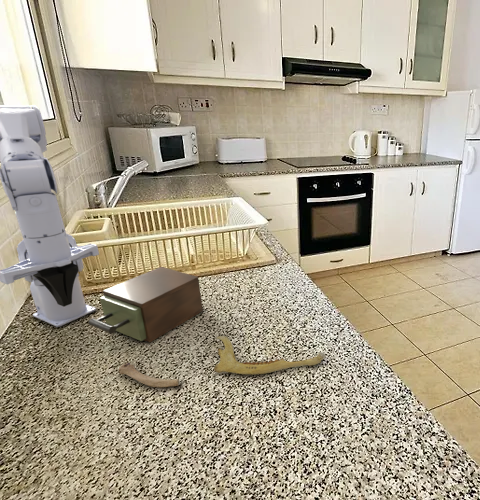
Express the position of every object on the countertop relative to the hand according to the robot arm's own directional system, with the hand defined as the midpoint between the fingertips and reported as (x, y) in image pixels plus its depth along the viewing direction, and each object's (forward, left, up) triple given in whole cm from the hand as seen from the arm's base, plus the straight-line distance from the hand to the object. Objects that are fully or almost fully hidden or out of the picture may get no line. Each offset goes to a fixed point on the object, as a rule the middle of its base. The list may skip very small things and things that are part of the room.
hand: (64, 303), depth 68 cm
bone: (+20, 0, -10) cm, 22 cm away
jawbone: (+33, +13, -10) cm, 37 cm away
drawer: (+5, +10, -9) cm, 14 cm away
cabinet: (+5, +14, -9) cm, 18 cm away
